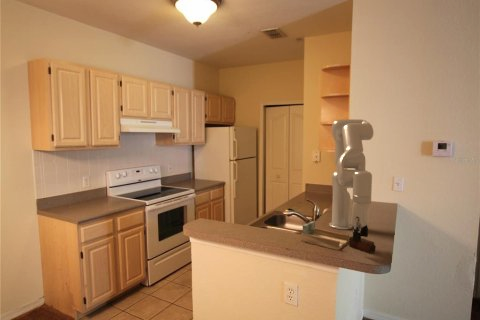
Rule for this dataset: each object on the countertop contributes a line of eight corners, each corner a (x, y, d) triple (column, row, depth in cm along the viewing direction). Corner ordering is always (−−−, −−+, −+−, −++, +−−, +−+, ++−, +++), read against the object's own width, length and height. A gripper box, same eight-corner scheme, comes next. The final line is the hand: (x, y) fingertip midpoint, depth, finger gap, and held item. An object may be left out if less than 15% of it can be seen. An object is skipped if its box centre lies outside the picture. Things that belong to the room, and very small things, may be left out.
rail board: (313, 234, 149) (313, 220, 148) (348, 242, 137) (349, 227, 137) (300, 240, 139) (301, 226, 138) (338, 250, 127) (338, 233, 127)
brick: (348, 246, 132) (348, 236, 132) (353, 245, 134) (354, 235, 134) (370, 254, 123) (370, 243, 123) (375, 252, 126) (376, 242, 125)
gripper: (359, 196, 136) (357, 233, 136) (346, 201, 122) (344, 241, 123) (376, 198, 131) (375, 236, 131) (364, 203, 117) (363, 245, 118)
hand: (360, 238), depth 127 cm, fingers open, 9 cm apart
